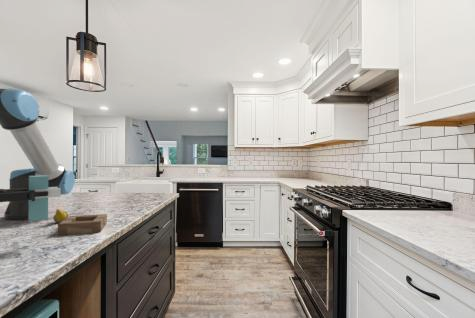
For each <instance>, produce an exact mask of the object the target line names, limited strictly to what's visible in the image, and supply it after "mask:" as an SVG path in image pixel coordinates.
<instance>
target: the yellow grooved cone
mask: <svg viewBox="0 0 475 318" xmlns="http://www.w3.org/2000/svg"><path fill="white" fill-rule="evenodd" d="M68 217H69V214H68V212H67V211H63V210H61V209H59V208H56V212H55V213H54V215H53V222H55V223H57V224H59V223H61V222H62V221H64V220H65V219H66V218H68Z"/></svg>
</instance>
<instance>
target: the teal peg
mask: <svg viewBox="0 0 475 318" xmlns="http://www.w3.org/2000/svg"><path fill="white" fill-rule="evenodd" d="M39 189H48V176H47V175H43V176H29V191H31V190H34V191H35V190H39ZM27 220H28V221H29V222H30V223H31V222H39V221H45V220H49V198H36V199H35V201H32V200H29V216H28V219H27Z"/></svg>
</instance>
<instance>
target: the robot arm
mask: <svg viewBox="0 0 475 318" xmlns="http://www.w3.org/2000/svg"><path fill="white" fill-rule="evenodd" d="M39 116H40V105H39V103H38V101H37V99H36V98H35V96H34V95H32V94H31V93H30V92H28V91H27V90H24V89H17V88H0V126H1V128H2V129H3V130H6V131H10V133H11V134H12V136H13V138H14V139H15V141H16V142H17V143H18V145H19V148H21V150H22V151H23V154H25V156H26V158H27V159H28V162H30V165H31V166H32V167H33V168H32V167H31V168H24V169H23V168H22V169H14V170H12V171H11V172H10V174H9V175H10V176H9V179H8V180H9V188H7V189H5V188H0V203H6V202H7V203H8V205H7V206H6V209H5V211H4V213H3V219H4V220H6V221H7V220H8V221H12V220H13V221H17V220H29V219H28V216H29V200H32V201H35V199H36V198H48V199H49V198H57V197H58V198H60V197H61V196H62V195H68V194H70V193H71V192H72V191H73V188H74V186H75V181H76V177H75V173H74V172H73V171H71V170H67V169H65V166H64V165H63V164H61V163H58V162H57V160H56V158H55V156H54V155H53V153H52V151H51V149H50V147H49V145H48V144H47V142H46V140H45V138H44V136H43V134H42V133H41V130H40V129H39V127H38V126H37V122H38V120H39V119H38V117H39ZM43 175H47V176H48V189H39V190H35V191H34V190H31V191H29V176H43Z"/></svg>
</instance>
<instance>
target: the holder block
mask: <svg viewBox="0 0 475 318" xmlns="http://www.w3.org/2000/svg"><path fill="white" fill-rule="evenodd" d="M107 215H108V214H107V213H105V214H104V213H103V214H85V215H70V216H69V215H68V218H66V219H65V220H64V221H62V222H61V223H57V236H65V235H66V236H67V235H80V234H91V233H101V232H102V230H103V229H104V228H105V226H106V225H107V224H108V223H107V221H108V220H107V218H108V216H107Z"/></svg>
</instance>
